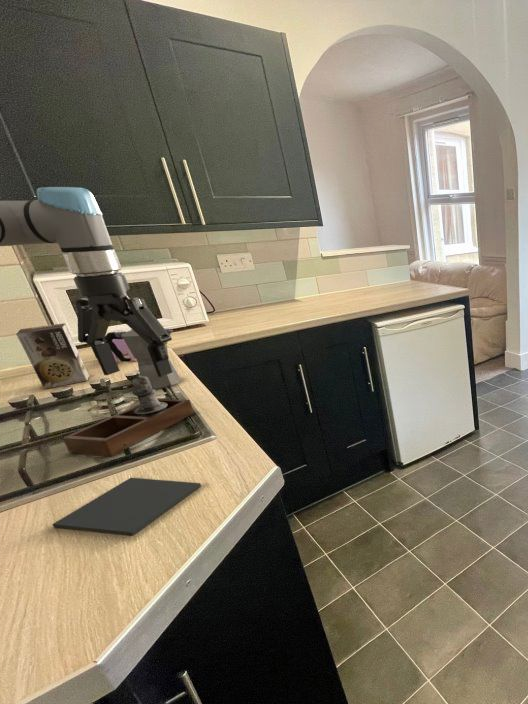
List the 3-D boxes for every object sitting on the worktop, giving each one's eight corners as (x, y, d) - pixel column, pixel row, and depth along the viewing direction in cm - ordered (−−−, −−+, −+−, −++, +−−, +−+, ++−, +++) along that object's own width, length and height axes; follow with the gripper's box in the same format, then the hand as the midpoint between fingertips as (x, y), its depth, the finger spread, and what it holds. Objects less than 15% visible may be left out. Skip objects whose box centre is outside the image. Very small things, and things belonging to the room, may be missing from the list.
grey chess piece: (165, 414, 99) (147, 366, 94) (177, 419, 96) (159, 370, 91) (135, 424, 94) (114, 374, 90) (146, 430, 91) (126, 379, 87)
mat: (53, 527, 63) (51, 524, 63) (131, 480, 74) (130, 477, 74) (132, 535, 61) (131, 532, 61) (201, 486, 72) (200, 483, 72)
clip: (111, 351, 148) (103, 332, 146) (155, 345, 154) (148, 326, 152) (97, 366, 133) (88, 345, 130) (147, 359, 139) (139, 339, 136)
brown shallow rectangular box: (69, 453, 83) (62, 438, 82) (158, 411, 100) (152, 398, 99) (112, 456, 82) (105, 440, 80) (194, 413, 99) (189, 399, 98)
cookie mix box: (89, 375, 125) (66, 322, 119) (87, 381, 121) (63, 326, 115) (46, 383, 120) (19, 328, 114) (42, 389, 116) (14, 332, 109)
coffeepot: (194, 374, 124) (174, 314, 117) (184, 385, 115) (161, 322, 109) (131, 382, 119) (106, 320, 112) (115, 394, 111) (87, 328, 104)
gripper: (169, 270, 84) (203, 368, 92) (67, 271, 88) (108, 366, 96) (133, 275, 77) (172, 381, 85) (24, 277, 81) (71, 378, 89)
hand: (138, 373), depth 91 cm, fingers open, 13 cm apart
